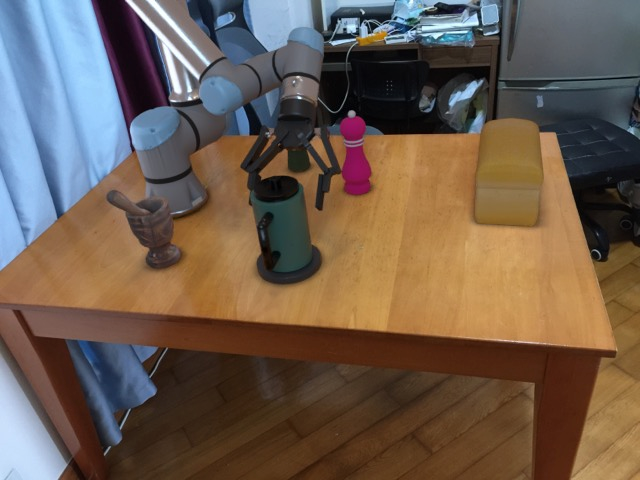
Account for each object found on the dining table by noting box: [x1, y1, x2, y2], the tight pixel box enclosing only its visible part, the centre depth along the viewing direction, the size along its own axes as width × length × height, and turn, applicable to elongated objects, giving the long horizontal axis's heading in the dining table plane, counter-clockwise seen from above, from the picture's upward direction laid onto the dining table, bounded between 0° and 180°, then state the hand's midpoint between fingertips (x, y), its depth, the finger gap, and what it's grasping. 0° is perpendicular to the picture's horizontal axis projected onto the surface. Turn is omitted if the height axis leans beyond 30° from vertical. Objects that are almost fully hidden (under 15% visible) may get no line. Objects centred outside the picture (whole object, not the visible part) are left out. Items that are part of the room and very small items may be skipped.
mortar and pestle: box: [105, 189, 182, 270], centre depth 110 cm, size 12×9×20 cm
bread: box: [473, 117, 545, 227], centre depth 119 cm, size 24×13×15 cm, turn 164°
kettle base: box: [256, 243, 322, 285], centre depth 110 cm, size 13×13×2 cm
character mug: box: [274, 135, 316, 173], centre depth 144 cm, size 11×7×13 cm, turn 80°
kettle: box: [249, 174, 313, 272], centre depth 104 cm, size 19×10×18 cm, turn 164°
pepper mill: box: [339, 110, 372, 196], centre depth 129 cm, size 7×7×20 cm
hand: (285, 207), depth 105 cm, fingers open, 13 cm apart
